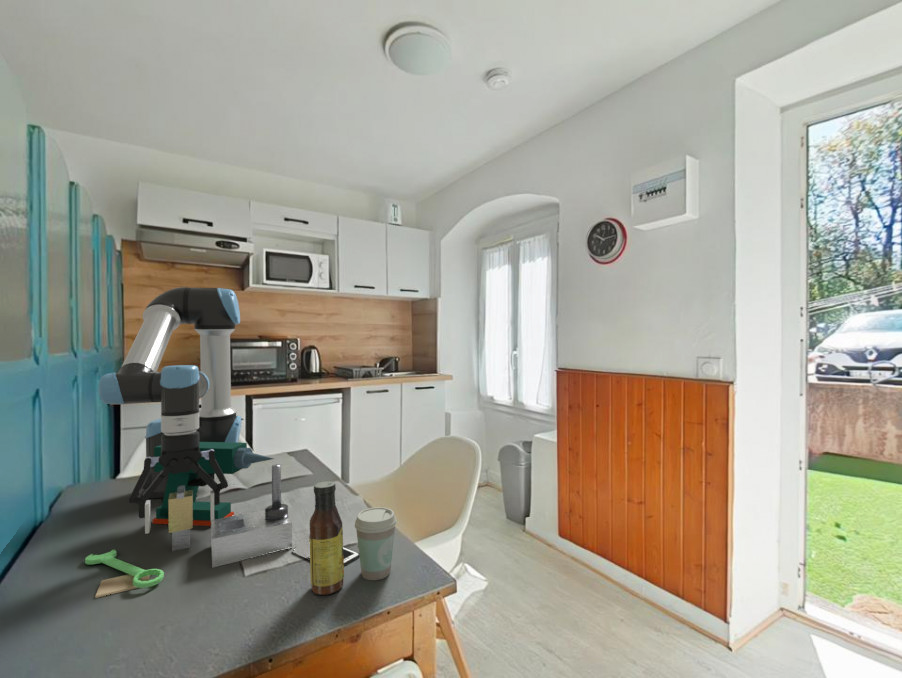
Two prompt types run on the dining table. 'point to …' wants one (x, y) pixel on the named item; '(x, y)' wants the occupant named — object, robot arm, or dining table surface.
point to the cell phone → (347, 555)
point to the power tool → (229, 461)
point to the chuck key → (180, 517)
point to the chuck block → (252, 530)
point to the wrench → (126, 568)
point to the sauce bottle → (326, 542)
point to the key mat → (117, 585)
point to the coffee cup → (375, 541)
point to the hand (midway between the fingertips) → (181, 524)
